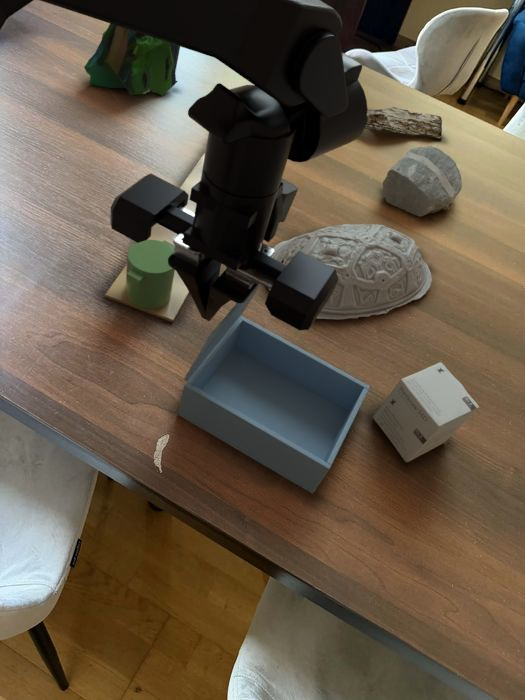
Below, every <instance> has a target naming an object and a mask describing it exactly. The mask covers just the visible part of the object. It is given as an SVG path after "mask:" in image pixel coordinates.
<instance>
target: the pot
mask: <svg viewBox="0 0 525 700" xmlns="http://www.w3.org/2000/svg"><path fill="white" fill-rule="evenodd" d="M174 247H175V246H174V245H173V244H171V243H169V242H167V241H165V240H164V241H163V242H161V241H157V240H145V241H142V242H139V243H137V242H134V243H133V244H132V245H130V247H129V248H128V250H127V255H126V264H127V268H126V282H125V294H126V296H127V298H128V300H129V301H130V302H131V303H133V304H134V305H136V306H138V307H141V308H145V309H157V308H160V307H163V306H165V305H166V304H167V303H168V302H169V301H170V299H171V297H172V291H173V285H174V278H175V272H176V270H175V269H173V268H171V267H170V266H169V265H168V258H169V256H171V255H172V254H173V253H174Z"/></svg>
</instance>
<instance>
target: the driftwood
mask: <svg viewBox="0 0 525 700" xmlns="http://www.w3.org/2000/svg"><path fill="white" fill-rule="evenodd" d="M367 117H368V121H367V124H366V127H365V128H364V130H365V129H366V130H375V131H385V132H392V133H394V134H402V135H405V136H406V135H407V136H426V137H427V136H428V137H432V138H435V139H438V140H443V135H442V133H443V127H442V125H443V119H442V116H440V115H434V114H431V113H430V114H429V113H424V112H421V113H419V112H417V111H416V112H412V111H410V110H408V109H401V108H398V107H394V106H393V107H387V108H380V109H370V110H369V109H367Z"/></svg>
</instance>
